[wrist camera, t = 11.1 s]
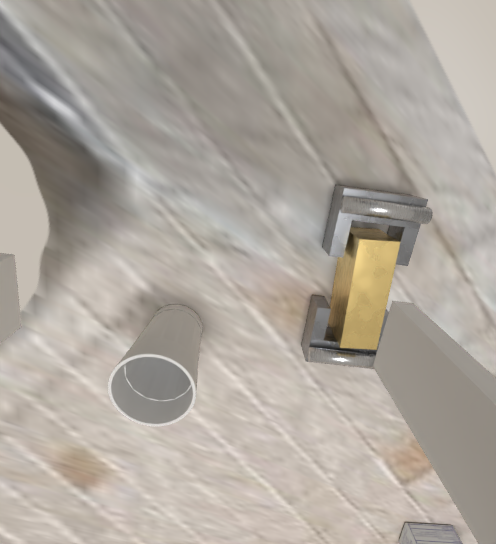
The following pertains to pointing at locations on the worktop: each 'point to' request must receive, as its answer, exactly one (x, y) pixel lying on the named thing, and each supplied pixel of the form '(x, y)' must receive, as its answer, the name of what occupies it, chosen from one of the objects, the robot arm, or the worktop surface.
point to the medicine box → (429, 534)
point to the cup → (159, 369)
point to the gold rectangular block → (362, 288)
